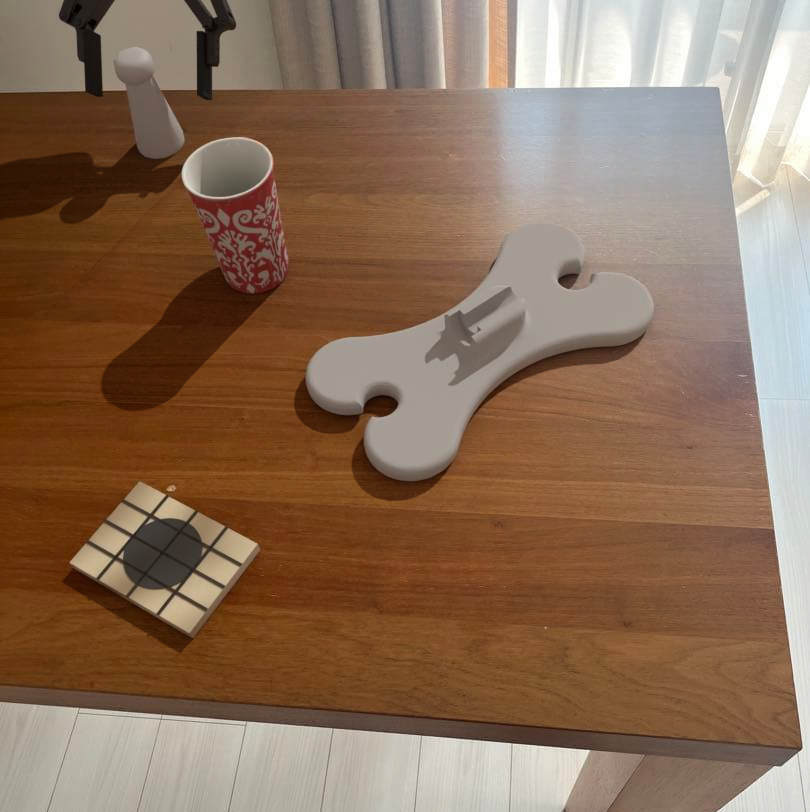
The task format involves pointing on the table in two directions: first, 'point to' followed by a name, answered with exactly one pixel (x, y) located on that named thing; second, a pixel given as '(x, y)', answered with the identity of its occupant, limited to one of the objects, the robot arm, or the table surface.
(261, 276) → the mug
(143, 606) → the grid board
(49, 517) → the table surface
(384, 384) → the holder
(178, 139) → the white pawn
